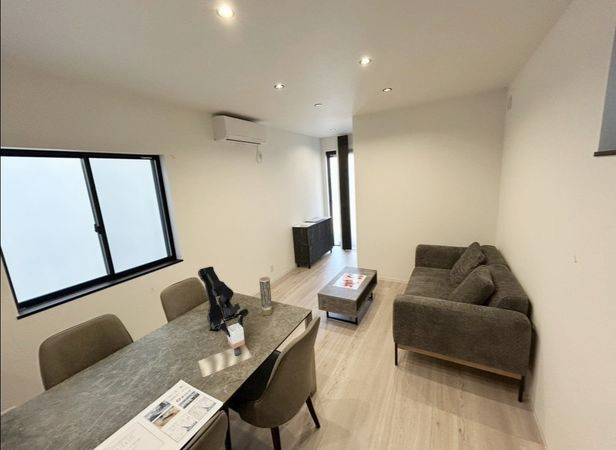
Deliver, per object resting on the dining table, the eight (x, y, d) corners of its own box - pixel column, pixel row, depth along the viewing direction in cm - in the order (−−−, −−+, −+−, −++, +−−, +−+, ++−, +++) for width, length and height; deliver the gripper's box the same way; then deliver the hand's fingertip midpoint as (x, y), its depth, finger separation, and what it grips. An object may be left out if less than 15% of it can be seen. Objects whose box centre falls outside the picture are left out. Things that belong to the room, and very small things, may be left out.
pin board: (202, 379, 118) (201, 371, 118) (198, 362, 129) (197, 355, 128) (252, 358, 130) (251, 351, 130) (244, 345, 141) (243, 338, 141)
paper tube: (270, 316, 170) (267, 281, 165) (260, 315, 171) (257, 280, 166) (273, 311, 176) (271, 277, 172) (264, 310, 178) (261, 276, 173)
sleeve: (232, 349, 127) (231, 333, 126) (228, 343, 132) (226, 327, 131) (244, 343, 131) (243, 327, 129) (239, 337, 136) (238, 322, 134)
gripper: (210, 306, 125) (220, 336, 118) (245, 294, 136) (257, 321, 130) (207, 314, 132) (217, 343, 126) (241, 302, 144) (251, 328, 137)
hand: (236, 334), depth 130 cm, fingers closed on sleeve, 6 cm apart
